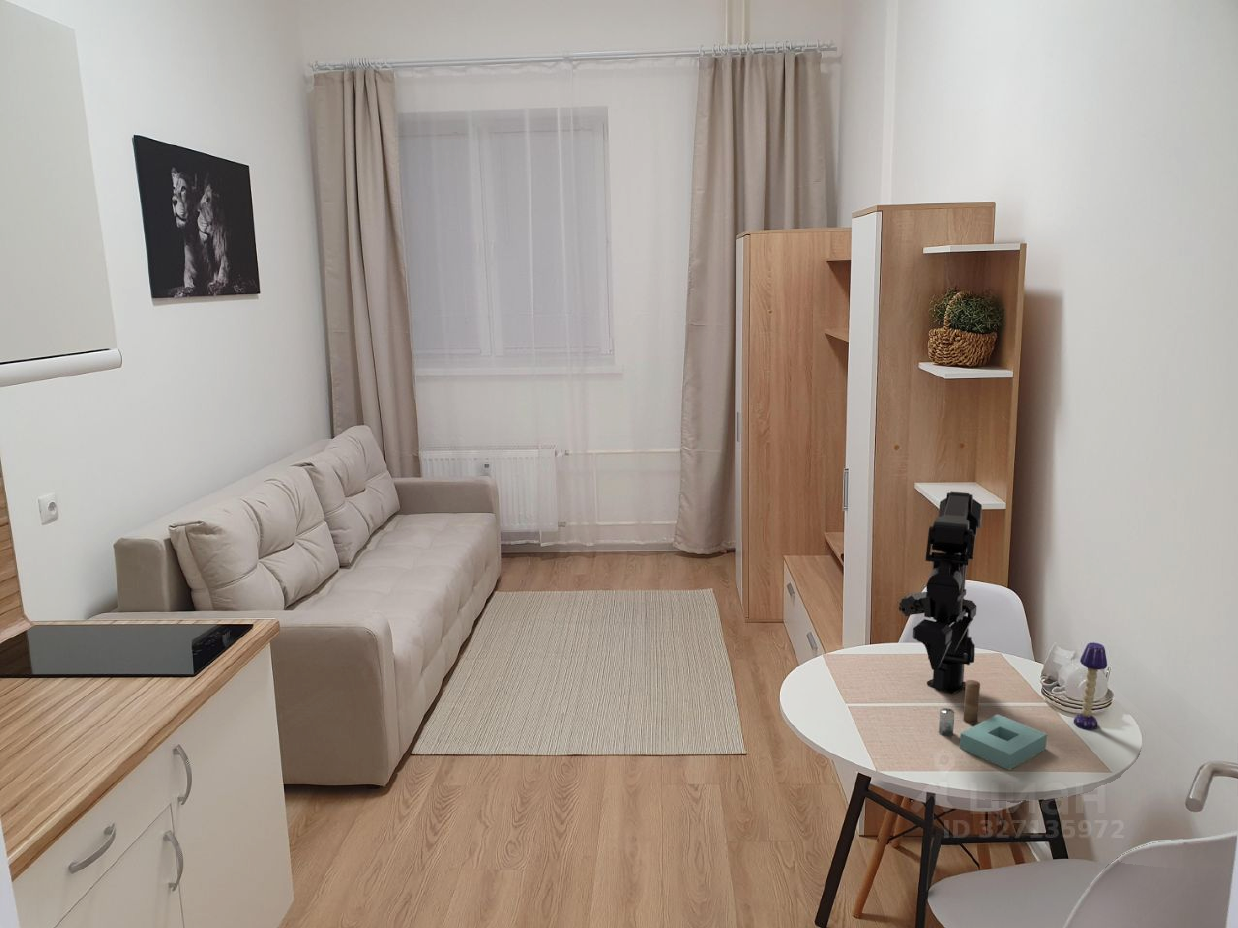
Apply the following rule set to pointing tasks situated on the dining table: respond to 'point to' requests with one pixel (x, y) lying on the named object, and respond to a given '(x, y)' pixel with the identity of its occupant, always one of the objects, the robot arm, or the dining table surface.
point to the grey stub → (946, 722)
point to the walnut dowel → (971, 701)
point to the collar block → (1003, 741)
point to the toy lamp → (1090, 682)
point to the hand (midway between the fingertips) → (943, 660)
